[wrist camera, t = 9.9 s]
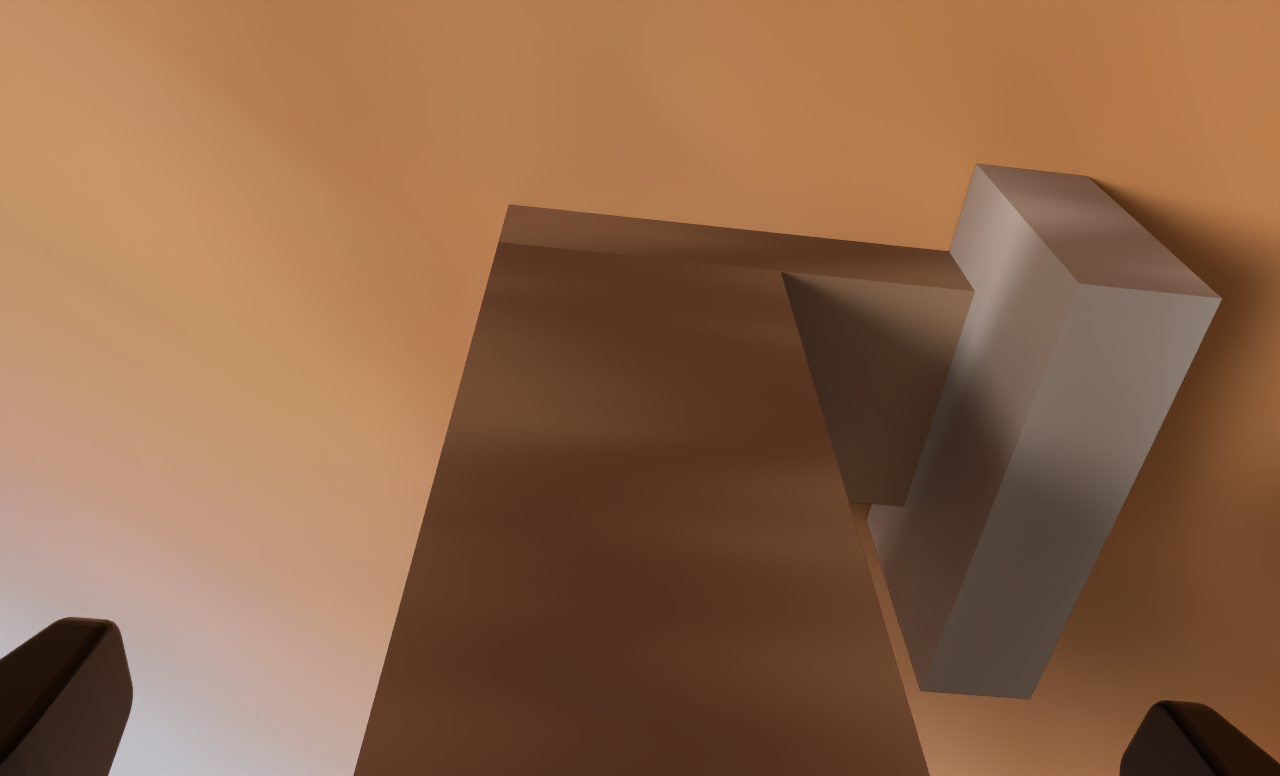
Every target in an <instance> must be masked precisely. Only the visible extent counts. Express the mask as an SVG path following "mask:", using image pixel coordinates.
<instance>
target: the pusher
mask: <svg viewBox="0 0 1280 776" xmlns="http://www.w3.org/2000/svg"><path fill="white" fill-rule="evenodd" d="M1221 300H1222V298H1221V297H1220V296H1219V295H1218V294H1217V293H1215V292H1214V291H1213V290H1212V289H1211V288H1210V287H1209V286H1208V285H1207V284H1205V283H1204V282H1203V281H1202V280H1201V279H1200V278H1199V277H1198V276H1197V275H1196V274H1194V273H1193V272H1192V271H1191V270H1190V269H1189V268H1188V267H1187V266H1186V265H1185V264H1183V263H1182V262H1181V261H1180V260H1179V259H1178V258H1177V257H1176V256H1175V255H1174V254H1172V253H1171V252H1170V251H1169V250H1168V249H1167V248H1166V247H1165V246H1164V245H1163V244H1161V243H1160V242H1159V241H1158V240H1157V239H1156V238H1155V237H1154V236H1153V235H1152V234H1150V233H1149V232H1148V231H1147V230H1146V229H1145V228H1144V227H1143V226H1142V225H1141V224H1139V223H1138V222H1137V221H1136V220H1135V219H1134V218H1133V217H1132V216H1131V215H1129V214H1128V213H1127V212H1126V211H1125V210H1124V209H1123V208H1122V207H1121V206H1120V205H1118V204H1117V203H1116V202H1115V201H1114V200H1113V199H1112V198H1111V197H1110V196H1109V195H1107V194H1106V193H1105V192H1104V191H1103V190H1102V189H1101V188H1100V187H1099V186H1098V185H1096V184H1095V183H1094V182H1093V181H1092V180H1091V179H1090V178H1089V177H1088V176H1080V175H1071V174H1062V173H1053V172H1044V171H1036V170H1027V169H1018V168H1009V167H1000V166H991V165H982V164H976V167H975V170H974V173H973V176H972V180H971V183H970V186H969V189H968V193H967V196H966V199H965V202H964V206H963V209H962V212H961V215H960V219H959V222H958V225H957V228H956V232H955V235H954V238H953V241H952V245H951V248H950V251H949V252H947V251H938V250H928V249H919V248H910V247H900V246H891V245H881V244H872V243H863V242H853V241H844V240H834V239H825V238H816V237H806V236H797V235H788V234H778V233H769V232H759V231H750V230H741V229H731V228H722V227H712V226H703V225H694V224H684V223H675V222H665V221H656V220H647V219H637V218H628V217H618V216H609V215H600V214H590V213H581V212H571V211H562V210H553V209H543V208H534V207H524V206H515V205H509V206H508V209H507V213H506V217H505V220H504V224H503V228H502V231H501V235H500V239H499V242H498V246H497V250H496V253H495V257H494V261H493V264H492V268H491V272H490V275H489V279H488V283H487V286H486V290H485V294H484V298H483V301H482V305H481V309H480V312H479V316H478V320H477V323H476V327H475V331H474V334H473V338H472V342H471V345H470V349H469V353H468V356H467V360H466V364H465V367H464V371H463V375H462V378H461V382H460V386H459V389H458V393H457V397H456V400H455V404H454V408H453V412H452V415H451V419H450V423H449V426H448V430H447V434H446V437H445V441H444V445H443V448H442V452H441V456H440V459H439V463H438V467H437V470H436V474H435V478H434V481H433V485H432V489H431V492H430V496H429V500H428V503H427V507H426V511H425V515H424V518H423V522H422V526H421V529H420V533H419V537H418V540H417V544H416V548H415V551H414V555H413V559H412V562H411V566H410V570H409V573H408V577H407V581H406V584H405V588H404V592H403V595H402V599H401V603H400V606H399V610H398V614H397V617H396V621H395V625H394V629H393V632H392V636H391V640H390V643H389V647H388V651H387V654H386V658H385V662H384V665H383V669H382V673H381V676H380V680H379V684H378V687H377V691H376V695H375V698H374V702H373V706H372V709H371V713H370V717H369V720H368V724H367V728H366V732H365V735H364V739H363V743H362V746H361V750H360V754H359V757H358V761H357V765H356V768H355V772H354V776H930V775H929V772H928V768H927V765H926V761H925V758H924V755H923V751H922V748H921V745H920V741H919V738H918V734H917V731H916V728H915V724H914V721H913V717H912V714H911V711H910V707H909V704H908V701H907V697H906V694H905V690H904V687H903V684H902V680H901V677H900V674H899V670H898V667H897V663H896V660H895V657H894V653H893V650H892V646H891V643H890V640H889V636H888V633H887V630H886V626H885V623H884V619H883V616H882V613H881V609H880V606H879V603H878V599H877V596H876V592H875V589H874V586H873V582H872V579H871V575H870V572H869V569H868V565H867V562H866V559H865V555H864V552H863V548H862V545H861V542H860V538H859V535H858V532H857V528H856V525H855V521H854V518H853V515H852V511H851V508H850V504H849V502H854V503H865V504H872V505H871V508H870V511H869V515H868V518H867V522H868V525H869V528H870V532H871V535H872V538H873V541H874V544H875V548H876V551H877V554H878V557H879V560H880V564H881V567H882V570H883V573H884V576H885V580H886V583H887V586H888V589H889V592H890V596H891V599H892V602H893V605H894V608H895V612H896V615H897V618H898V621H899V624H900V628H901V631H902V634H903V637H904V640H905V644H906V647H907V650H908V653H909V656H910V660H911V663H912V666H913V669H914V672H915V676H916V679H917V682H918V685H919V688H920V691H926V692H939V693H953V694H966V695H979V696H993V697H1006V698H1020V699H1030V698H1031V696H1032V694H1033V692H1034V690H1035V688H1036V686H1037V684H1038V682H1039V680H1040V678H1041V676H1042V673H1043V671H1044V669H1045V667H1046V665H1047V663H1048V661H1049V659H1050V657H1051V655H1052V653H1053V650H1054V648H1055V646H1056V644H1057V642H1058V640H1059V638H1060V636H1061V634H1062V632H1063V630H1064V628H1065V625H1066V623H1067V621H1068V619H1069V617H1070V615H1071V613H1072V611H1073V609H1074V607H1075V605H1076V603H1077V600H1078V598H1079V596H1080V594H1081V592H1082V590H1083V588H1084V586H1085V584H1086V582H1087V580H1088V577H1089V575H1090V573H1091V571H1092V569H1093V567H1094V565H1095V563H1096V561H1097V559H1098V557H1099V555H1100V552H1101V550H1102V548H1103V546H1104V544H1105V542H1106V540H1107V538H1108V536H1109V534H1110V532H1111V530H1112V527H1113V525H1114V523H1115V521H1116V519H1117V517H1118V515H1119V513H1120V511H1121V509H1122V507H1123V504H1124V502H1125V500H1126V498H1127V496H1128V494H1129V492H1130V490H1131V488H1132V486H1133V484H1134V482H1135V479H1136V477H1137V475H1138V473H1139V471H1140V469H1141V467H1142V465H1143V463H1144V461H1145V459H1146V457H1147V454H1148V452H1149V450H1150V448H1151V446H1152V444H1153V442H1154V440H1155V438H1156V436H1157V434H1158V431H1159V429H1160V427H1161V425H1162V423H1163V421H1164V419H1165V417H1166V415H1167V413H1168V411H1169V409H1170V406H1171V404H1172V402H1173V400H1174V398H1175V396H1176V394H1177V392H1178V390H1179V388H1180V386H1181V383H1182V381H1183V379H1184V377H1185V375H1186V373H1187V371H1188V369H1189V367H1190V365H1191V363H1192V361H1193V358H1194V356H1195V354H1196V352H1197V350H1198V348H1199V346H1200V344H1201V342H1202V340H1203V338H1204V336H1205V333H1206V331H1207V329H1208V327H1209V325H1210V323H1211V321H1212V319H1213V317H1214V315H1215V313H1216V310H1217V308H1218V306H1219V304H1220V302H1221Z"/></svg>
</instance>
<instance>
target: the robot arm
mask: <svg viewBox="0 0 1280 776" xmlns="http://www.w3.org/2000/svg"><path fill="white" fill-rule="evenodd" d="M132 699H133V686H132V681H131V676H130V672H129V667H128V663H127V658H126V654H125V649H124V645H123V640H122V636H121V633H120V630H119V627H118V626H117V625H116V624H115V623H114V622H113V621H109V620H104V619H91V618H78V617H67V618H63V619H60V620H58V621H56V622H54V623H52V624H51V625H49V626H48V627H46V628H45V629H43V630H42V631H41V632H39V633H38V634H36V635H35V636H33V637H32V638H30V639H29V640H28V641H26V642H25V643H23V644H22V645H20V646H19V647H17V648H16V649H15V650H13V651H12V652H10V653H9V654H7V655H6V656H4V657H3V658H1V659H0V776H108V775H109V772H110V769H111V766H112V763H113V760H114V758H115V755H116V752H117V749H118V746H119V743H120V741H121V738H122V735H123V732H124V729H125V726H126V723H127V721H128V718H129V714H130V711H131V706H132ZM1120 776H1280V764H1279V763H1278V762H1277V761H1276V760H1274V759H1273V758H1272V757H1271V756H1270V755H1268V754H1267V753H1266V752H1265V751H1263V750H1262V749H1261V748H1260V747H1259V746H1257V745H1256V744H1255V743H1254V742H1253V741H1251V740H1250V739H1249V738H1248V737H1246V736H1245V735H1244V734H1243V733H1242V732H1240V731H1239V730H1238V729H1237V728H1235V727H1234V726H1233V725H1232V724H1231V723H1229V722H1228V721H1227V720H1226V719H1225V718H1223V717H1222V716H1221V715H1220V714H1218V713H1217V712H1216V711H1214V710H1213V709H1212V708H1210V707H1208V706H1206V705H1204V704H1201V703H1195V702H1182V701H1169V700H1164V701H1159V702H1157V703H1156V704H1154V705H1153V706H1152V707H1151V708H1150V709H1149V711H1148V713H1147V714H1146V716H1145V718H1144V719H1143V721H1142V723H1141V725H1140V726H1139V728H1138V730H1137V732H1136V733H1135V735H1134V737H1133V739H1132V740H1131V742H1130V744H1129V745H1128V747H1127V749H1126V751H1125V752H1124V754H1123V757H1122V760H1121V764H1120Z"/></svg>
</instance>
